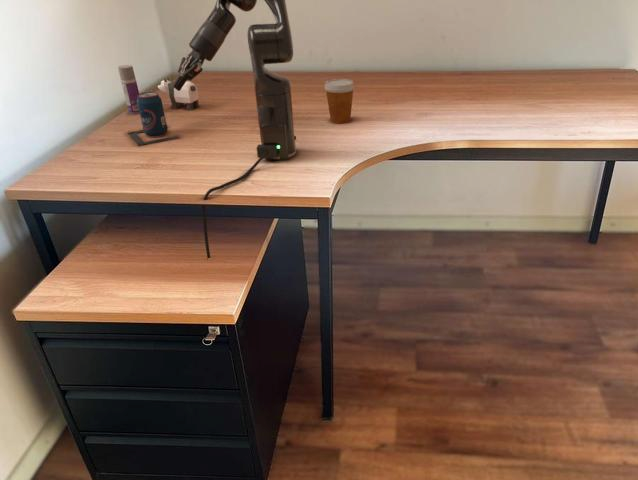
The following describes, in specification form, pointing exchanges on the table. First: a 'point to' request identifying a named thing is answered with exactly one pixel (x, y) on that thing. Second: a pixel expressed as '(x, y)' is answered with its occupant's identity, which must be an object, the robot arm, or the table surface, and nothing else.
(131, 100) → the container
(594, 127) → the table surface
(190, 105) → the giant panda
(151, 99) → the soda can
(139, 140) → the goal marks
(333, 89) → the disposable coffee cup
